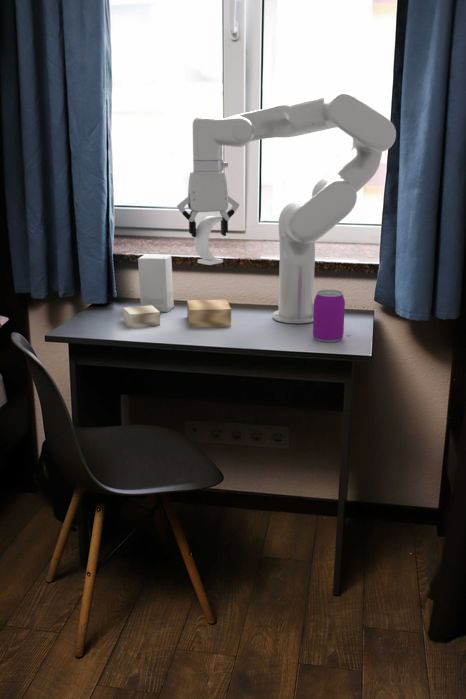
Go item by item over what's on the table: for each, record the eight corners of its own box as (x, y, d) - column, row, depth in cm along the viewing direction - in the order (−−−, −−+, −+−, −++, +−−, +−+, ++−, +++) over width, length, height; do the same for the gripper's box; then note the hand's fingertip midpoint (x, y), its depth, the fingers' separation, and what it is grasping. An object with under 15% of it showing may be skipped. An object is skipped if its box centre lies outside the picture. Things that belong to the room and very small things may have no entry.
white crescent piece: (223, 262, 213) (222, 217, 210) (206, 265, 209) (205, 219, 206) (211, 260, 216) (210, 215, 213) (194, 263, 212) (193, 218, 209)
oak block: (226, 316, 223) (226, 299, 222) (231, 327, 213) (231, 309, 212) (187, 317, 222) (187, 300, 221) (189, 328, 212) (189, 310, 210)
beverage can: (341, 334, 205) (343, 289, 202) (344, 343, 198) (347, 296, 194) (311, 334, 206) (313, 288, 202) (313, 343, 198) (315, 295, 195)
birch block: (152, 319, 220) (152, 305, 219) (160, 326, 213) (159, 312, 212) (123, 321, 218) (123, 307, 217) (130, 329, 211) (130, 314, 209)
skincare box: (174, 307, 232) (173, 254, 227) (167, 313, 226) (166, 258, 221) (146, 305, 234) (145, 253, 229) (139, 311, 228) (137, 257, 223)
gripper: (237, 165, 211) (237, 232, 216) (172, 166, 207) (173, 234, 212) (244, 167, 204) (244, 236, 209) (176, 168, 200) (178, 239, 205)
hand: (208, 235), depth 211 cm, fingers closed on white crescent piece, 7 cm apart
